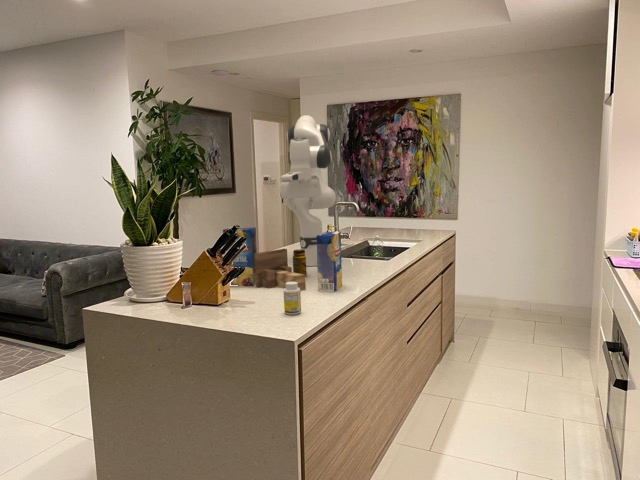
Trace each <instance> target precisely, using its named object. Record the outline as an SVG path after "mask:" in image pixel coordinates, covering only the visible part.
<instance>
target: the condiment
mask: <svg viewBox="0 0 640 480" xmlns="http://www.w3.org/2000/svg"><path fill="white" fill-rule="evenodd" d="M292 272H293V273H298V274H303V275H305V278H308V277H310V275H309V274H308V273H307V266H306V256H305V250H302V249H301V248H299V249H294V250H293V255H292Z"/></svg>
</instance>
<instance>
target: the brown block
mask: <svg viewBox="0 0 640 480" xmlns="http://www.w3.org/2000/svg"><path fill="white" fill-rule="evenodd" d="M288 258H289V257H288V248H281V249H280V248H279V249H272V250H268V251H267V250H266V251H260V252H257V253H254V266H255V287H256V288H267V289H273V288H276V287H277V286H275V270H283V271H288V272H293V266H288V265H289V263H288V261H289V260H288Z"/></svg>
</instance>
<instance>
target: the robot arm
mask: <svg viewBox="0 0 640 480" xmlns="http://www.w3.org/2000/svg"><path fill="white" fill-rule="evenodd" d="M286 139H287V142H288V145H289V151H288V153H287V156H288V157H287V158H288V159H287V160H288V161H287V162H288V164H289V165H290V167H289V169H290V170H289V171H288V172H287V173H285V174H283V175H280V181H282V182H281V183H280V197H281V199H282V200H284V203H285V206H286V207H287V208H288V209H289V210H291V211H292V212H293V213H294V215H296V217H297V219H298V223H299V229H300V231H299V232H300V237H299V244H300V249H302V250H305V256H306V267H318V264H317V235H319V234H321V233H323V224H322V223H323V222H322V219H320V218H319V217H318V216H315V215H313V214H311V213H310V210H323V209H328V208H332V207H333V206H334V205H335V203H336V198H337V197H336V193H335V190H333V188H331V187H330V186H328V185H327V184H326V183H325V181H324V180H323V176H322V169H327V168H328V167H329V166H330V165H331V163H332V157H333V155H332V151H331V148H330V147H329V146H328V143H329V141H330V139H331V132H330V129H329V127H328V125H327V124H323V123H321V124H317V121H316V120H315V119H314V117H313V116H311V115H305V114H304V115H301V116H300V117H299V118H298V119H297V121H296V123H295V124H293V125H292V126H290V127H289V128H288V129H287V132H286Z"/></svg>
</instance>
